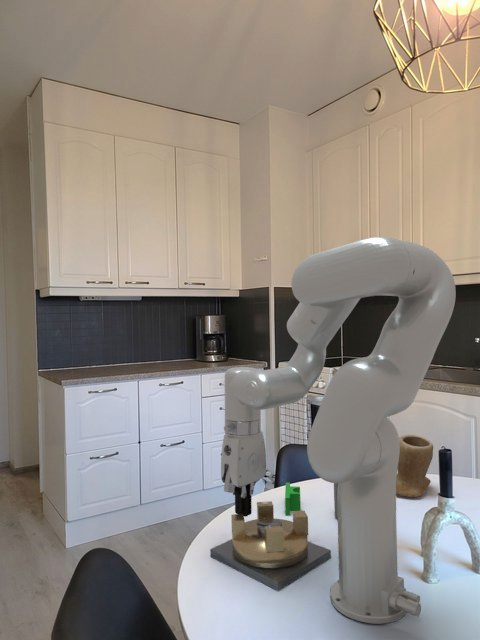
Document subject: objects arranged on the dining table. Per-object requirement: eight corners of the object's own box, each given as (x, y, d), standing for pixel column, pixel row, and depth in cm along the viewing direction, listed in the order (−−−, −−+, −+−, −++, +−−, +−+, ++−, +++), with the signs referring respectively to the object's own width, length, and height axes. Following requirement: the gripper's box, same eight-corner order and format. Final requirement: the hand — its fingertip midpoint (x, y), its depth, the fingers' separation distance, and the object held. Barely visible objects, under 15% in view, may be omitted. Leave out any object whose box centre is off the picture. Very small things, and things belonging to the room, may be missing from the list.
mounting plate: (330, 557, 94) (330, 549, 94) (278, 591, 83) (277, 581, 83) (264, 530, 107) (263, 523, 107) (210, 556, 96) (210, 548, 96)
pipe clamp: (300, 517, 115) (300, 498, 115) (285, 516, 115) (284, 497, 115) (300, 499, 126) (299, 482, 126) (286, 499, 126) (285, 481, 126)
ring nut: (299, 530, 103) (298, 498, 103) (315, 565, 88) (314, 528, 88) (230, 534, 102) (229, 502, 102) (235, 570, 87) (234, 533, 87)
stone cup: (428, 504, 120) (426, 445, 120) (381, 495, 127) (380, 439, 127) (441, 486, 133) (440, 433, 133) (398, 479, 140) (397, 428, 140)
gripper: (232, 436, 91) (233, 531, 91) (278, 423, 103) (278, 507, 103) (204, 430, 96) (205, 520, 96) (251, 418, 107) (251, 498, 108)
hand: (243, 513), depth 100 cm, fingers closed
